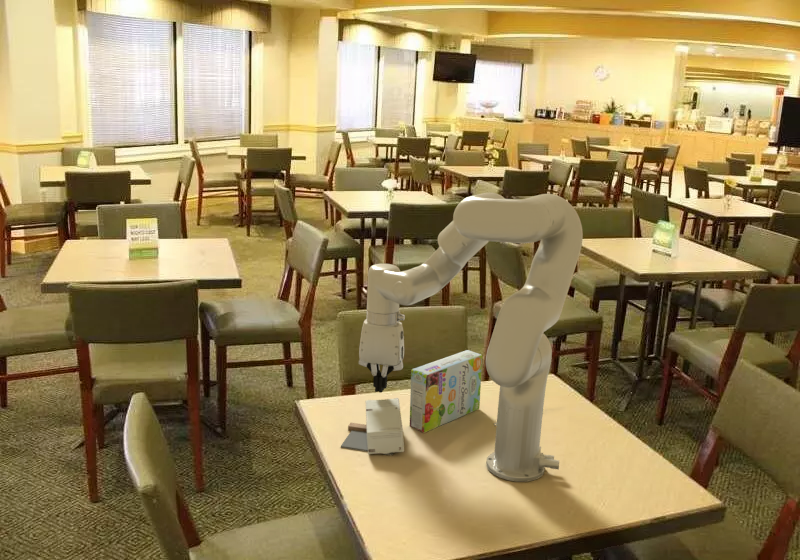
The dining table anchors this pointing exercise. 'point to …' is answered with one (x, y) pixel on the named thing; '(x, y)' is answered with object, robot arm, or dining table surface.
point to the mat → (357, 441)
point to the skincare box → (384, 426)
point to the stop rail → (357, 427)
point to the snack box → (445, 390)
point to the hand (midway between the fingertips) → (379, 390)
